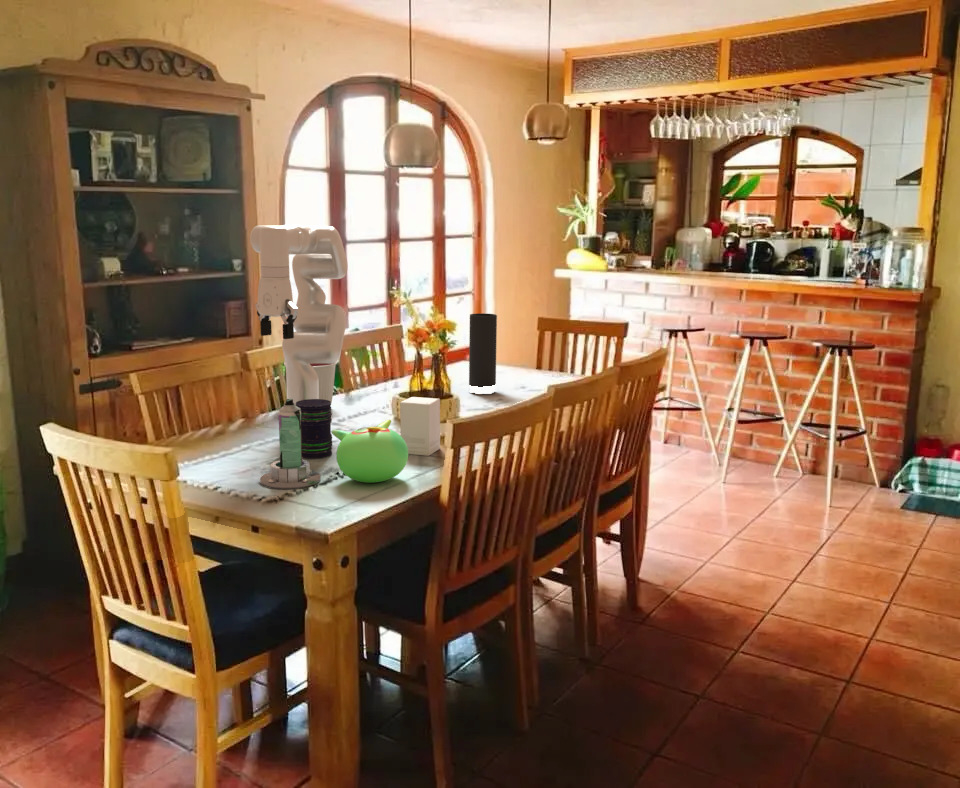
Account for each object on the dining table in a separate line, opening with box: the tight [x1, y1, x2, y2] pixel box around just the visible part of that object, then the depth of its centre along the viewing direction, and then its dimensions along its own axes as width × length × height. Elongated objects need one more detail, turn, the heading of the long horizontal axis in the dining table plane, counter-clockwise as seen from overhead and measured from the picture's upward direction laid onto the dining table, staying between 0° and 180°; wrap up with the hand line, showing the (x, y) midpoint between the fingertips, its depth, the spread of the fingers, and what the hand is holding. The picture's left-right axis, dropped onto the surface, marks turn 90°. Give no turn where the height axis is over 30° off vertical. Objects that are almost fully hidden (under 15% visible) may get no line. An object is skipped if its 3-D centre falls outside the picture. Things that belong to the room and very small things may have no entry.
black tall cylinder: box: [468, 313, 498, 387], centre depth 334 cm, size 10×10×30 cm
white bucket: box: [283, 361, 338, 404], centre depth 302 cm, size 18×18×21 cm
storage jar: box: [296, 399, 333, 460], centre depth 244 cm, size 10×10×15 cm
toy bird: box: [331, 419, 409, 484], centre depth 220 cm, size 18×17×15 cm
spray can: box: [278, 398, 303, 468], centre depth 219 cm, size 6×6×20 cm
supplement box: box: [399, 396, 441, 457], centre depth 249 cm, size 9×9×15 cm
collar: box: [259, 459, 322, 490], centre depth 220 cm, size 15×15×4 cm
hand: (277, 336), depth 237 cm, fingers open, 9 cm apart
